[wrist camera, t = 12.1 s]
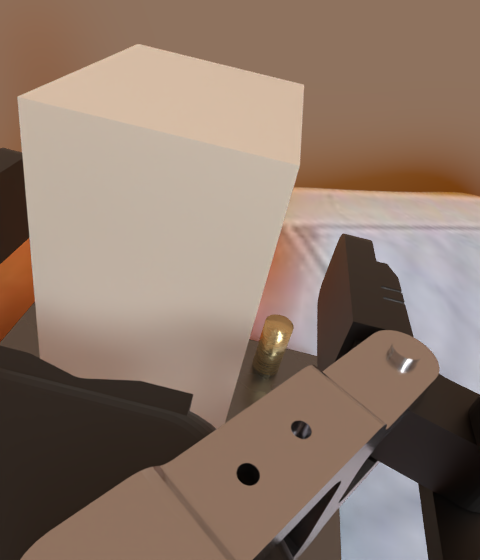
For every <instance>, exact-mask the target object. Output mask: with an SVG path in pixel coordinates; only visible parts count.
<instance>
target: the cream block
mask: <svg viewBox="0 0 480 560" xmlns="http://www.w3.org/2000/svg"><path fill="white" fill-rule="evenodd" d="M303 95H304V85H303V84H299V83H294V82H291V81H287V80H283V79H279V78H274V77H271V76H266V75H262V74H258V73H254V72H250V71H246V70H242V69H238V68H234V67H230V66H226V65H222V64H218V63H214V62H209V61H205V60H201V59H197V58H193V57H189V56H185V55H181V54H177V53H173V52H169V51H165V50H161V49H157V48H153V47H148V46H144V45H140V44H137V45H135V46H132V47H130V48H128V49H126V50H123V51H121V52H119V53H116V54H114V55H112V56H110V57H107V58H105V59H103V60H101V61H98V62H96V63H94V64H92V65H89V66H87V67H84V68H82V69H80V70H78V71H75V72H73V73H71V74H68V75H66V76H64V77H62V78H59V79H57V80H55V81H53V82H50V83H48V84H45V85H43V86H41V87H39V88H36V89H34V90H32V91H29V92H27V93H25V94H23V95H21V96H18V97H17V98H18V109H19V121H20V132H21V144H22V156H23V168H24V179H25V191H26V203H27V214H28V226H29V237H30V249H31V261H32V272H33V284H34V296H35V307H36V319H37V330H38V342H39V354H40V359H42V360H44V361H46V362H48V363H50V364H52V365H54V366H56V367H58V368H60V369H62V370H63V371H65V372H67V373H69V374H71V375H73V376H76V377H79V378H87V379H110V380H134V381H143V382H147V383H151V384H155V385H159V386H163V387H167V388H171V389H175V390H179V391H183V392H187V393H191V394H193V398H192V403H191V408H190V411H191V412H193V413H195V414H197V415H198V416H200V417H202V418H203V419H205V420H206V421H207V422H209V423H210V424H211V425H213V426H214V427H215V428H216V429H218V428H219V427H221V426H222V425H223V424H225V421H226V417H227V414H228V410H229V407H230V403H231V400H232V397H233V393H234V390H235V386H236V383H237V379H238V376H239V372H240V369H241V366H242V362H243V359H244V355H245V352H246V348H247V345H248V342H249V338H250V335H251V331H252V328H253V324H254V321H255V318H256V314H257V311H258V307H259V304H260V300H261V297H262V294H263V290H264V287H265V283H266V280H267V276H268V273H269V269H270V266H271V263H272V259H273V256H274V252H275V249H276V245H277V242H278V239H279V235H280V232H281V228H282V225H283V221H284V218H285V215H286V211H287V208H288V204H289V201H290V197H291V194H292V190H293V187H294V184H295V180H296V177H297V173H298V170H299V166H300V151H301V150H300V149H301V132H302V113H303Z"/></svg>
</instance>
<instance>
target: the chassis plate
mask: <svg viewBox="0 0 480 560" xmlns="http://www.w3.org/2000/svg"><path fill="white" fill-rule="evenodd" d="M292 331H293V324H292V322H291V321H290V320H289V319H288V318H286V317H284V316H281V315H270V316H268V317H267V318H266V320H265V324H264V327H263V330H262V333H261V337H260V340H259V342H258V341H254V340H250V339H249V342H248V345H247V348H246V352H245V355H244V359H243V362H242V366H241V369H240V372H239V376H238V379H237V383H236V386H235V390H234V393H233V397H232V400H231V403H230V407H229V410H228V414H227V417H226V421H225V423H226V422H228V421H229V420H231V419H232V418H233V417H235V416H236V415H238V414H239V413H241V412H242V411H243V410H245V409H246V408H248V407H249V406H251V405H252V404H253V403H255V402H256V401H258V400H259V399H261V398H262V397H263V396H265V395H266V394H268V393H269V392H271V391H272V390H274V389H275V388H276V387H278V386H279V385H281V384H282V383H284V382H285V381H286V380H288V379H289V378H291V377H292V376H294V375H295V374H296V373H298V372H299V371H301V370H302V369H304V368H305V367H307V366H309V365H315V366H316V367H317V356H314V355H310V354H306V353H302V352H298V351H294V350H290V349H286V348H287V345H288V342H289V339H290V337H291V334H292ZM0 346H4V347H8V348H12V349H16V350H20V351H24V352H28V353H31V354H33V355H34V356H36V357H38V358H40V354H39V342H38V330H37V319H36V307H35V302H34V303H33V305H32V306H31V307H30V308H29V309H28V310H27V312H26V313H25V314H24V315H23V316H22V317H21V319H20V320H19V321H18V322H17V323H16V325H15V326H14V327H13V328H12V329H11V330H10V332H9V333H8V334H7V335H6V336H5V337H4V339H3V340H2V341H1V342H0ZM297 560H341V541H340V517H339V508H338V509H337V511H336V512H335V513H334V514H333V515H332V516H331V518H330V519H329V520H328V521H327V523H326V524H325V525H324V526H323V528H322V529H321V530H320V532H319V533H318V534H317V536H316V537H315V538H314V540H313V541H312V542H311V543H310V544H309V546H308V547H307V548H306V549H305V550H304V552H303V553H302V554H301V555H300V556H299V557H298V558H297Z"/></svg>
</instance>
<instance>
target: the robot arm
mask: <svg viewBox="0 0 480 560" xmlns="http://www.w3.org/2000/svg"><path fill="white" fill-rule="evenodd" d="M28 238H29V226H28V214H27V203H26V191H25V179H24V168H23V156H22V152H17V151H14V150H10V149H6V148H0V264H1V263H2V262H3V261H4V260H5V259H6V258H7V257H8V256H10V255H11V254H12V253H13V252H14V251H15V250H16V249H17V248H18V247H19V246H20V245H22V244H23V243H24V242H25V241H26V240H27V239H28ZM192 398H193V394H191V393H187V392H183V391H179V390H175V389H171V388H167V387H163V386H159V385H155V384H151V383H147V382H143V381H134V380H110V379H87V378H79V377H76V376H73V375H71V374H69V373H67V372H65V371H63V370H62V369H60V368H58V367H56V366H54V365H52V364H50V363H48V362H46V361H44V360H42V359H40V358H38V357H36V356H34V355H33V354H31V353H28V352H24V351H20V350H16V349H12V348H8V347H4V346H0V560H297V558H298V557H299V556H300V555H301V554H302V553H303V552H304V550H305V549H306V548H307V547H308V546H309V544H310V543H311V542H312V541H313V540H314V538H315V537H316V536H317V534H318V533H319V532H320V530H321V529H322V528H323V526H324V525H325V524H326V523H327V521H328V520H329V519H330V518H331V516H332V515H333V514H334V513H335V512H336V511H337V509H338V508H339V507H340V506H341V505H342V504H343V503H344V502H345V500H346V499H347V498H348V497H349V496H350V495H351V494H352V493H353V491H354V490H355V489H356V488H357V487H358V486H359V485H360V484H361V482H362V481H363V480H364V479H365V478H366V477H367V476H368V475H369V474H370V472H371V471H372V470H373V469H374V468H375V467H376V466H377V465H378V463H379V462H382V463H383V464H385V465H387V466H389V467H390V468H392V469H394V470H396V471H398V472H399V473H401V474H403V475H405V476H407V477H408V478H410V479H412V480H414V481H415V482H417V483H418V484H419V492H420V499H421V507H422V514H423V522H424V529H425V537H426V544H427V552H428V559H429V560H480V395H479V394H477V393H475V392H473V391H471V390H469V389H467V388H465V387H463V386H461V385H459V384H457V383H455V382H452V381H451V380H449V379H447V378H445V377H443V376H442V375H440V374H439V364H438V361H437V359H436V357H435V356H434V354H433V353H432V352H431V351H430V350H429V348H427V347H426V346H425V345H424V344H423V343H421V342H420V341H419V340H417V339H415V338H414V337H413V333H412V330H411V326H410V322H409V318H408V314H407V310H406V306H405V304H404V299H403V295H402V293H401V287H400V283H399V279H398V277H397V276H396V274H395V273H394V272H393V271H392V270H391V268H390V267H389V266H388V265H387V264H385V263H381V262H377V261H376V258H375V253H374V248H373V243H372V241H371V240H367V239H363V238H359V237H355V236H351V235H347V234H342V235H341V237H340V239H339V241H338V243H337V246H336V248H335V251H334V254H333V256H332V259H331V261H330V264H329V267H328V269H327V272H326V274H325V277H324V280H323V282H322V285H321V289H320V293H319V297H318V312H317V367H316V366H315V365H309V366H307V367H305V368H304V369H302V370H301V371H299V372H298V373H296V374H295V375H294V376H292V377H291V378H289V379H288V380H286V381H285V382H284V383H282V384H281V385H279V386H278V387H276V388H275V389H274V390H272V391H271V392H269V393H268V394H266V395H265V396H263V397H262V398H261V399H259V400H258V401H256V402H255V403H253V404H252V405H251V406H249V407H248V408H246V409H245V410H243V411H242V412H241V413H239V414H238V415H236V416H235V417H233V418H232V419H231V420H229V421H228V422H226V423H225V424H223V425H222V426H221V427H219V428H218V429H216V428H215V427H214V426H213V425H211V424H210V423H209V422H207V421H206V420H205V419H203V418H202V417H200V416H198V415H197V414H195V413H193V412H191V411H190V408H191V403H192Z"/></svg>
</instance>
